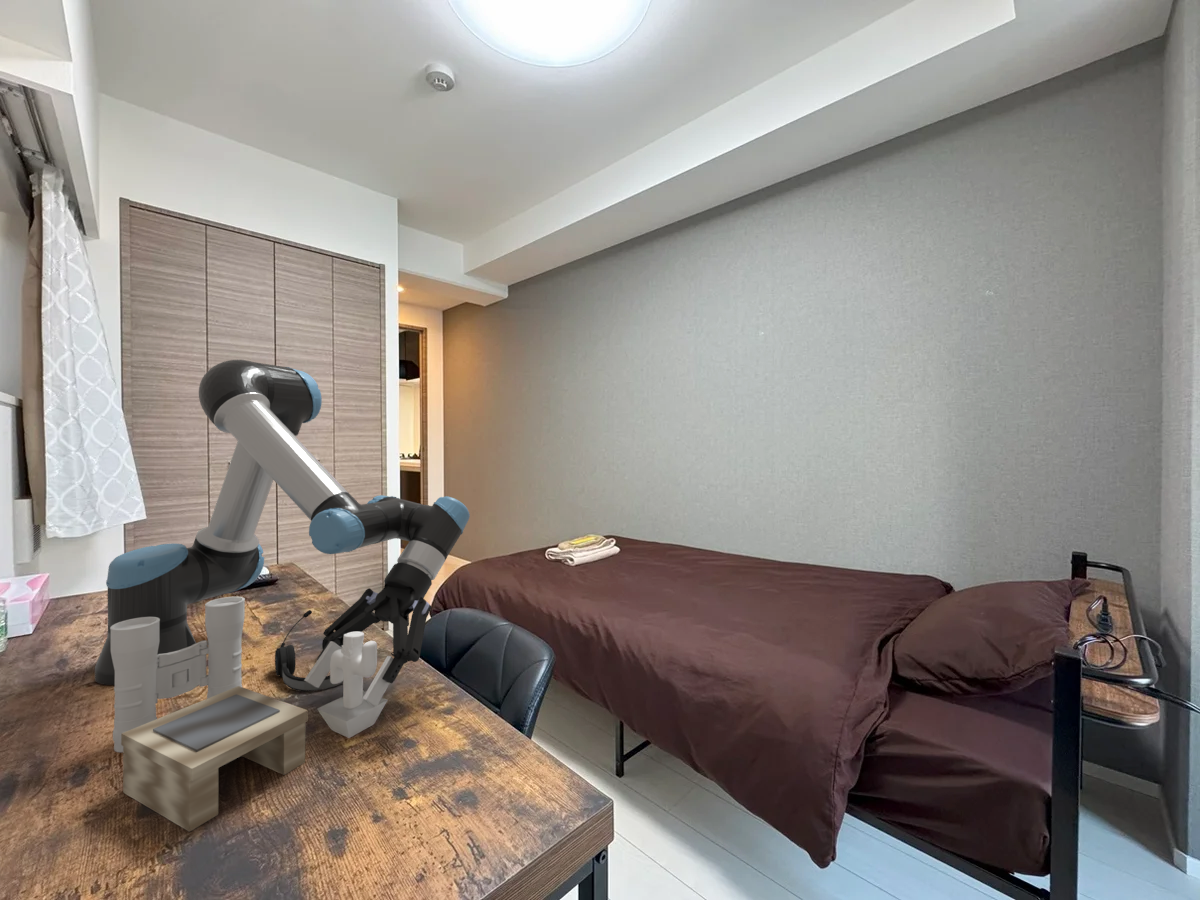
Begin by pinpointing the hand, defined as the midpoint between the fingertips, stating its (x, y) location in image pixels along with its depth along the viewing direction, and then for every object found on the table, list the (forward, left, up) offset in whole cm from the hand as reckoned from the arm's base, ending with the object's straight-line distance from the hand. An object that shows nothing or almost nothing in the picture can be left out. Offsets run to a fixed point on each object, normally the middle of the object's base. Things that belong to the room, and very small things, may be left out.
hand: (339, 693), depth 77 cm
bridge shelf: (-6, -13, -6) cm, 16 cm away
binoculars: (-25, -8, -7) cm, 27 cm away
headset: (-23, +13, -7) cm, 27 cm away
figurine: (0, +3, -7) cm, 7 cm away
